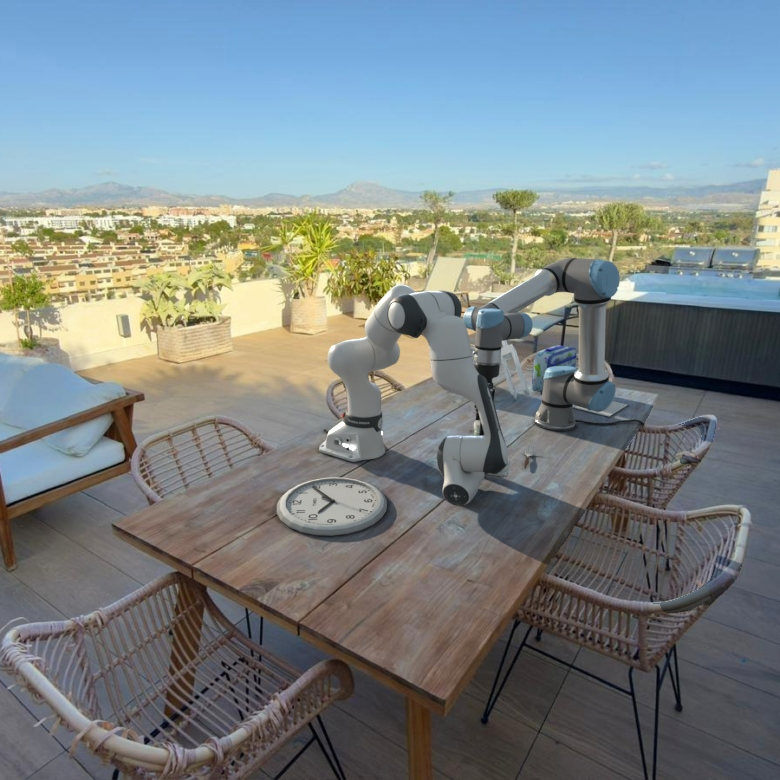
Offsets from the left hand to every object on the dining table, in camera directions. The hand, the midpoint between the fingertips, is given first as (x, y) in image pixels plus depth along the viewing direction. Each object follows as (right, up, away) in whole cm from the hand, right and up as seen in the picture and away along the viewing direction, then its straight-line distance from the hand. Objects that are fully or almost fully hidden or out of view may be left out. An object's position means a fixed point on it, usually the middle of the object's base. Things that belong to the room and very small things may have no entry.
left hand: (480, 452), depth 162 cm
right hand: (0, +5, -3) cm, 6 cm away
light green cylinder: (0, -6, +1) cm, 6 cm away
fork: (+17, -4, +10) cm, 20 cm away
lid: (0, +9, -4) cm, 10 cm away
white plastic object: (+13, +18, +81) cm, 84 cm away
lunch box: (+49, +19, +86) cm, 100 cm away
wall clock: (-44, -12, -20) cm, 50 cm away
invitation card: (+63, +12, +64) cm, 91 cm away
